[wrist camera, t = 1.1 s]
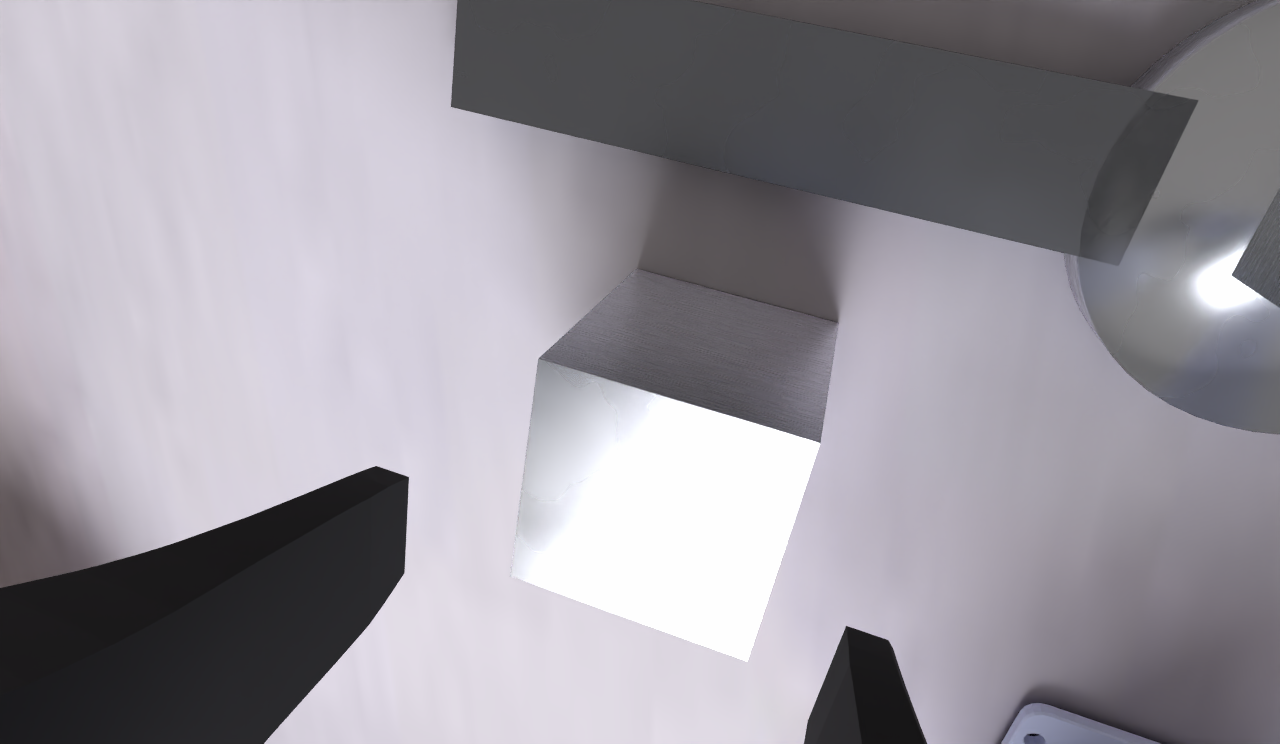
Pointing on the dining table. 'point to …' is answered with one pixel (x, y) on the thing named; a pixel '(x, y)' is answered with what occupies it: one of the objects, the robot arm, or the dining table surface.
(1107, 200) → the ratchet
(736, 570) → the brushed metal cube
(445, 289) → the dining table surface
